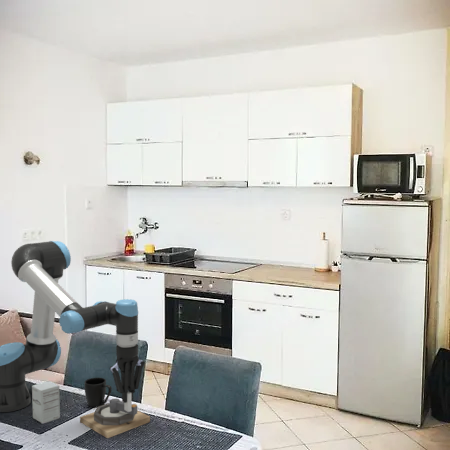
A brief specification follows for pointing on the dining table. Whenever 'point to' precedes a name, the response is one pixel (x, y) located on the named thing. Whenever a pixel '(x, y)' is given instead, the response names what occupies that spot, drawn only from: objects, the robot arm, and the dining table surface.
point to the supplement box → (45, 402)
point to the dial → (117, 409)
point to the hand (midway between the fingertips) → (127, 410)
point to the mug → (96, 391)
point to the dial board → (114, 428)
